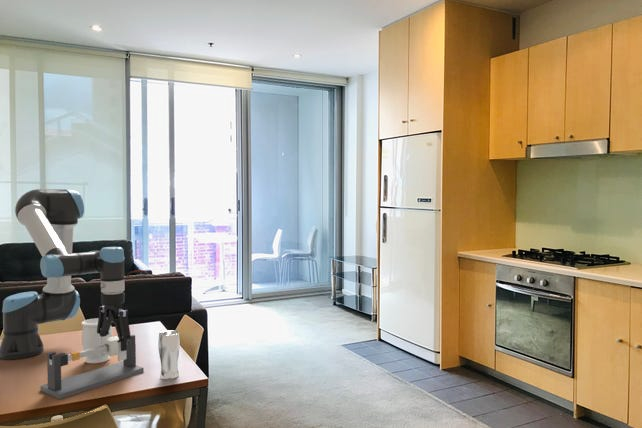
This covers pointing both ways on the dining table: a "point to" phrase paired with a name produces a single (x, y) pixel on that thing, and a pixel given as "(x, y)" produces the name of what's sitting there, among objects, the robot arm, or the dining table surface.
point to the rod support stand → (89, 374)
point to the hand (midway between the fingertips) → (113, 357)
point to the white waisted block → (169, 353)
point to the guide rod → (81, 354)
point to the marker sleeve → (111, 345)
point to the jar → (93, 340)
